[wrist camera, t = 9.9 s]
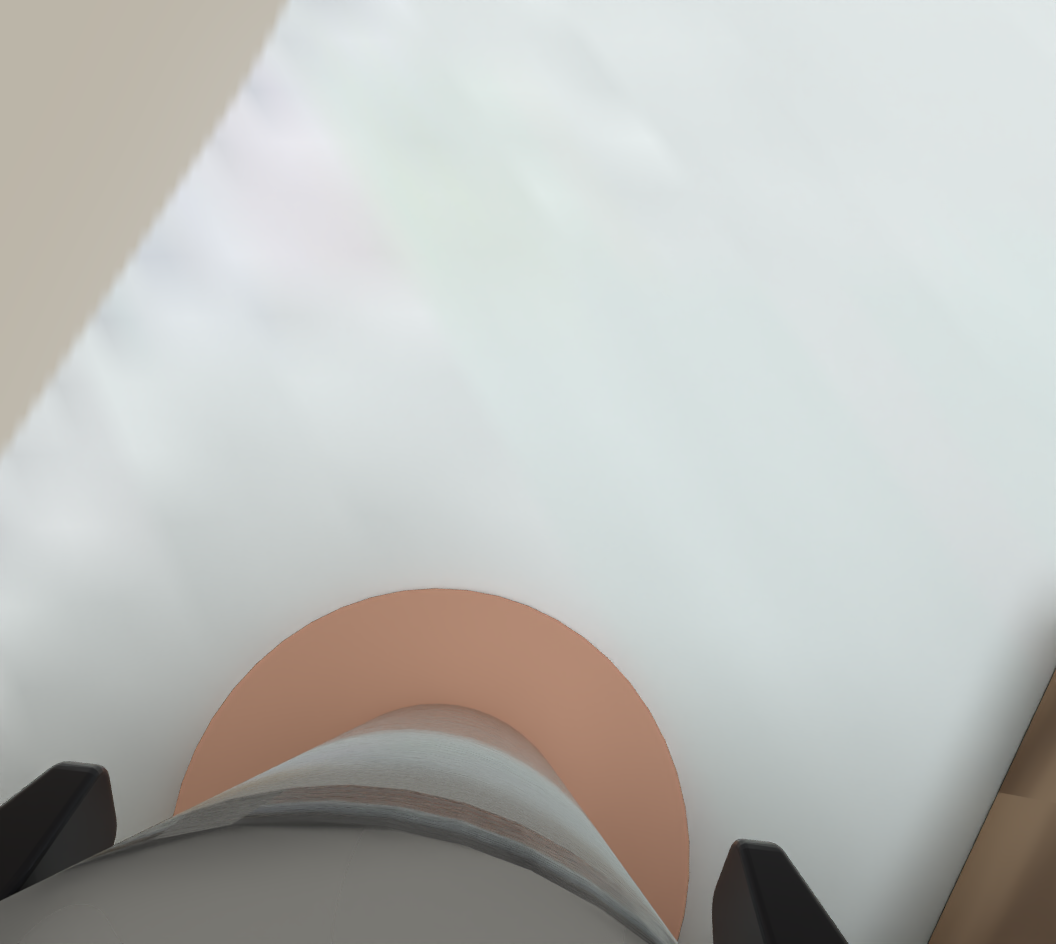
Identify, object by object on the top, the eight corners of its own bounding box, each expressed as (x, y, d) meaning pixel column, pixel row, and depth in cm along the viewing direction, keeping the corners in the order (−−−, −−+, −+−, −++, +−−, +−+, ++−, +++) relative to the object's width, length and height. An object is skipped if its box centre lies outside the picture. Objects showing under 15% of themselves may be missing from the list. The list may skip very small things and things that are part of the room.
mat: (664, 1162, 15) (668, 1174, 15) (122, 1106, 15) (112, 1117, 14) (700, 621, 17) (706, 619, 17) (229, 563, 17) (224, 560, 17)
